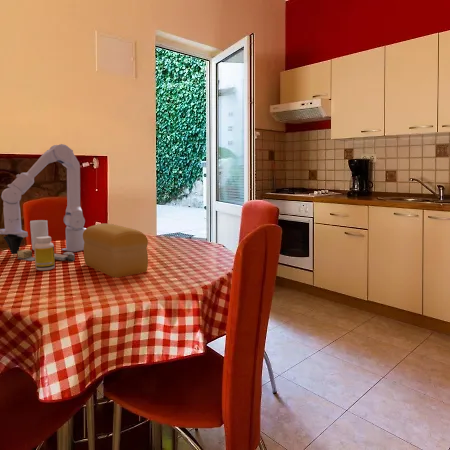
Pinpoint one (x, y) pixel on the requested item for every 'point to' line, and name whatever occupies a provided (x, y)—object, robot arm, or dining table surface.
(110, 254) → the bread
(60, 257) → the tong arm
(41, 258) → the pill bottle
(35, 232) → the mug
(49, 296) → the dining table surface
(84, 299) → the dining table surface
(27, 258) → the plate
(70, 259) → the dark-tipped long bar
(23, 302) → the dining table surface
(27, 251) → the block
